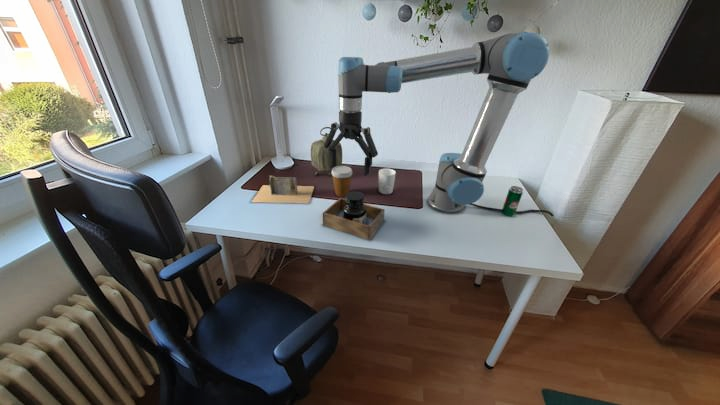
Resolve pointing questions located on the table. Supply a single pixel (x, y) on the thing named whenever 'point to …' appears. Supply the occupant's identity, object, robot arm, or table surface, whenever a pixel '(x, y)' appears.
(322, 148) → the tabletop clock
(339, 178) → the disposable coffee cup
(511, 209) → the soda can
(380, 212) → the wooden box
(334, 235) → the table surface
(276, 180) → the architectural model on board
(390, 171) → the white cup
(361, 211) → the ink bottle
